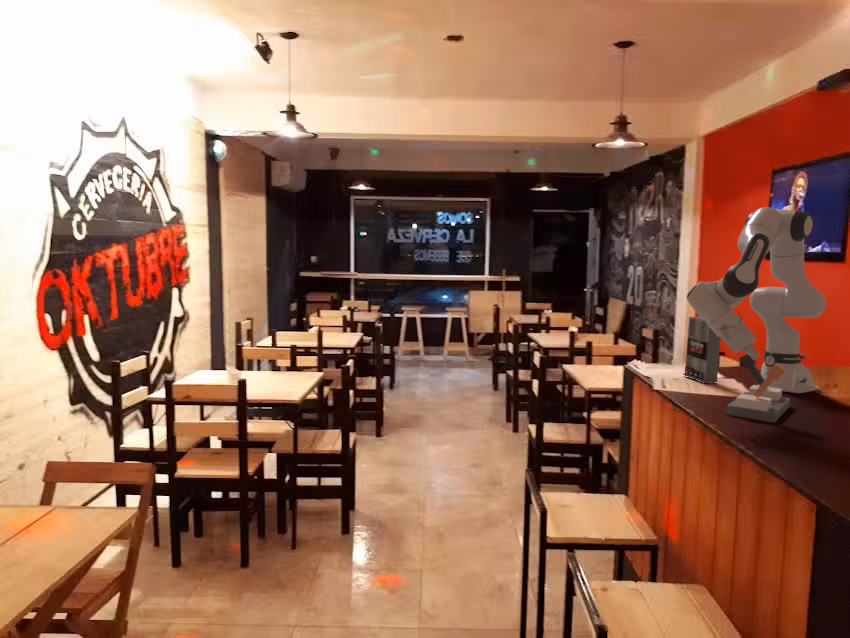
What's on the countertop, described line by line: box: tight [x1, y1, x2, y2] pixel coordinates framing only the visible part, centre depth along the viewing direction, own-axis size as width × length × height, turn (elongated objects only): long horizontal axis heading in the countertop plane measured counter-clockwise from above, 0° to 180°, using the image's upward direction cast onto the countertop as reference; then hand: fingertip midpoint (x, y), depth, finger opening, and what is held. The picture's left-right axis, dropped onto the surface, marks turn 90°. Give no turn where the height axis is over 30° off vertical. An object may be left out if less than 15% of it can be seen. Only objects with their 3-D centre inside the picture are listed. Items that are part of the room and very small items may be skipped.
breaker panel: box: [725, 384, 791, 424], centre depth 214 cm, size 26×14×6 cm, turn 142°
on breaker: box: [738, 353, 765, 385], centre depth 223 cm, size 3×4×12 cm
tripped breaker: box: [753, 362, 787, 398], centre depth 204 cm, size 3×4×12 cm
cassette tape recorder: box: [683, 316, 721, 384], centre depth 260 cm, size 14×6×25 cm, turn 12°
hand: (756, 358), depth 206 cm, fingers closed
